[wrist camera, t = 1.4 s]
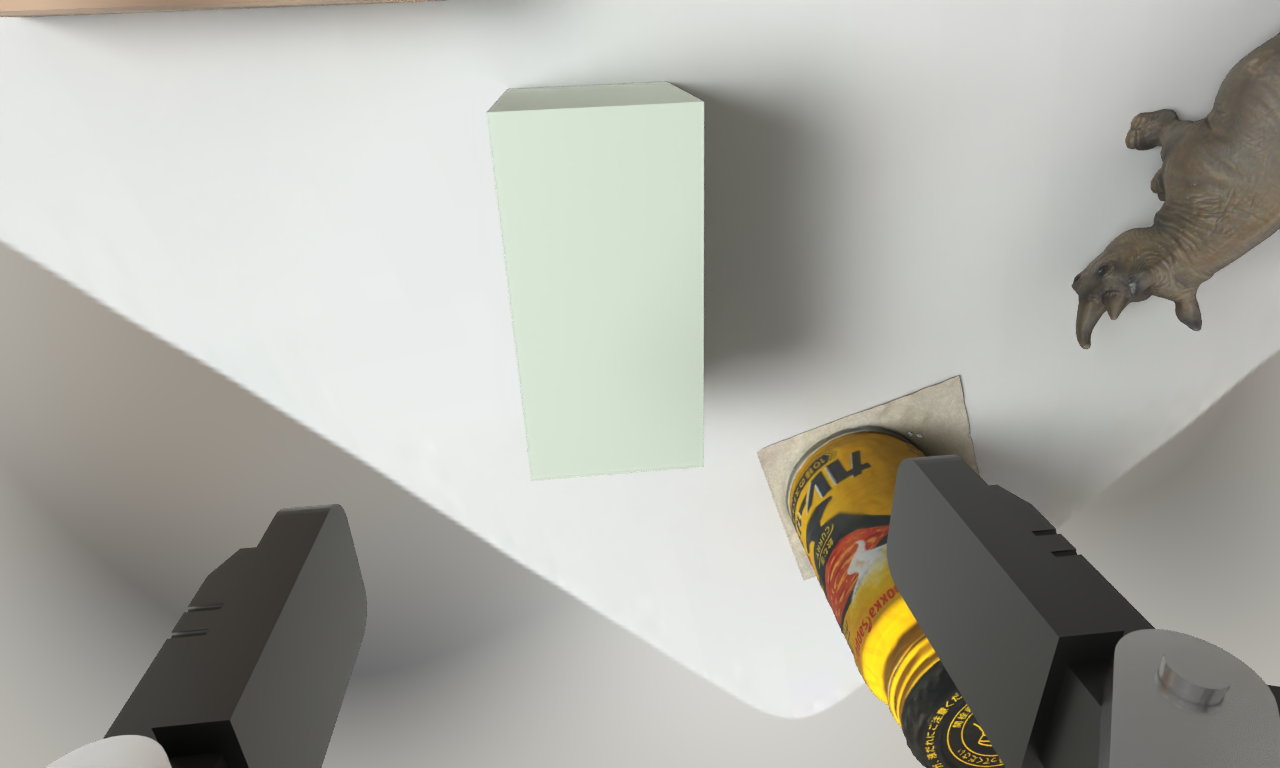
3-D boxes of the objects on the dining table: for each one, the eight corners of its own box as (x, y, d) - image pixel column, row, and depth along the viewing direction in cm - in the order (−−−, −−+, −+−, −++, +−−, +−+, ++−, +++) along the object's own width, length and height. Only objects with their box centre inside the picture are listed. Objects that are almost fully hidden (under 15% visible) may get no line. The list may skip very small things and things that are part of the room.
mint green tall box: (666, 81, 23) (703, 101, 17) (672, 385, 28) (703, 489, 22) (507, 88, 23) (486, 112, 17) (541, 395, 28) (534, 503, 21)
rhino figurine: (988, 290, 28) (1092, 354, 22) (1275, -82, 23) (1495, -116, 17) (1065, 336, 29) (1181, 408, 23) (1353, -9, 24) (1581, -19, 19)
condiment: (755, 449, 30) (863, 691, 19) (957, 373, 29) (1189, 579, 18) (802, 577, 33) (918, 845, 22) (984, 511, 32) (1196, 755, 21)
